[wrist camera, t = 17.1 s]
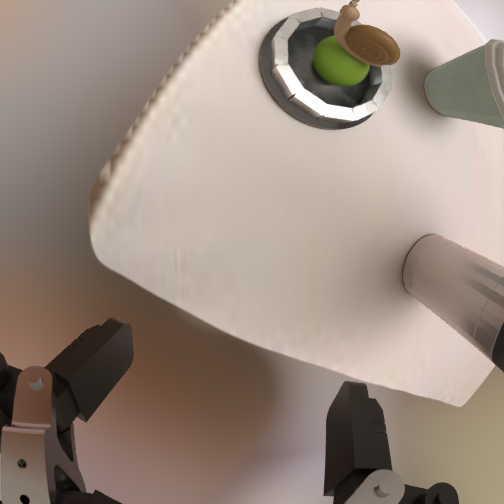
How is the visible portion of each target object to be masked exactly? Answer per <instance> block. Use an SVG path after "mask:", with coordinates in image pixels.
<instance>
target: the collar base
mask: <svg viewBox="0 0 504 504" xmlns="http://www.w3.org/2000/svg"><path fill="white" fill-rule="evenodd" d="M339 15H340V12H337V11H333V10H328V9H324V8H314V9H310V10H306V11H302V12H298V13H294V14H292V15H291V16H290V17H287V18H285V19H284V20H282V21H280V22H279V23H277V24H276V25H275V26H274V27H273V28H272V29H271V30H270V32H269V33H268V35H267V36H266V38H265V40H264V42H263V45H262V48H261V52H260V70H261V74H262V78H263V80H264V83H265V85H266V87H267V89H268V91H269V93H270V94H271V96H272V97H273V98H274V100H275V101H276V102H277V103H278V104H279V105H280V106H281V107H282V108H283V109H284V110H285V111H286V112H287V113H289V114H290V115H291V116H293V117H294V118H296V119H298V120H299V121H301V122H303V123H306V124H308V125H310V126H314V127H317V128H322V129H330V130H337V129H345V128H350V127H353V126H356V125H359V124H361V123H362V122H364V121H366V120H367V119H368V118H369V117H370V116H371V115H372V114H373V113H374V112H376V111H378V110H379V109H380V108H381V107H382V105H383V103H384V101H385V99H386V97H387V95H388V93H389V91H390V90H391V72H390V65H383V66H382V67H378V66H372V65H370V66H369V71H368V73H367V75H366V77H365V78H364V79H363V80H362V81H361V82H359V83H358V84H356V85H353V86H348V87H342V86H336V85H333V84H331V83H329V82H327V81H326V80H324V79H323V78H322V77H321V76H320V75H319V74H318V72H317V71H316V69H315V66H314V62H313V54H314V50H315V48H316V46H317V45H318V44H319V43H320V42H321V41H322V40H323V39H325V38H327V37H330V36H334V26H335V23H336V21H337V18H338V16H339ZM355 25H362V24H361V23H360V22H358V21H357V20H356V21H353V22H352V24H351V26H350V27H352V26H355Z"/></svg>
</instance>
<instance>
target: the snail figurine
mask: <svg viewBox="0 0 504 504" xmlns="http://www.w3.org/2000/svg"><path fill="white" fill-rule="evenodd" d="M359 1H360V0H352V1H351V2H350V3H349V5H345V6H343V7H342V9H341V10H340V15H339V16H338V18H337V21H336V23H335V26H334V36H330V37H327V38H325V39H323V40H322V41H321V42H320V43H319V44H318V45H317V46H316V48H315V50H314V54H313V62H314V66H315V69H316V71H317V72H318V74H319V75H320V76H321V77H322V78H323V79H324V80H326V81H327V82H329V83H331V84H333V85H336V86H342V87H348V86H353V85H356V84H358V83H359V82H361V81H362V80H363V79H364V78H365V77H366V75H367V73H368V71H369V66H370V65H372V66H378V67H382V66H383V65H392V64H394V63H396V62H397V61H398V59H399V57H400V50H399V47H398V45H397V43H396V42H395V40H394V39H393V38H392V37H391V36H390V35H388V34H387V33H386V32H384V31H382V30H380V29H378V28H376V27H373V26H370V25H355V26H352V27H350V26H351V24H352V22H353V21H356V20H357V19H358V18H359V16H360V14H359V11H358V10H357V9H356V8H355V7H356V6H357V3H356V2H359Z"/></svg>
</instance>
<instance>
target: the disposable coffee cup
mask: <svg viewBox="0 0 504 504" xmlns="http://www.w3.org/2000/svg"><path fill="white" fill-rule="evenodd" d="M424 89H425V94H426V98H427V100H428V101H429V103H430V105H431V107H432V108H433V109H434V110H436V111H437V112H438V113H439V114H442V115H443V116H446V117H452V118H458V119H463V120H469V121H474V122H478V123H483V124H487V125H491V126H496V127H500V128H503V129H504V41H502V40H493V39H491V40H490V41H489V42H488V43H486V44H485V45H483V46H481V47H479V48H477V49H474V50H472V51H470V52H468V53H466V54H464V55H461V56H459V57H457V58H455V59H453V60H451V61H449V62H447V63H445V64H443V65H441V66H439V67H437V68H435V69H433V70H432V71H431V72H429V73H428V74H427V76H426V77H425V82H424Z"/></svg>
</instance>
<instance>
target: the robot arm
mask: <svg viewBox="0 0 504 504" xmlns="http://www.w3.org/2000/svg"><path fill="white" fill-rule="evenodd" d="M403 283H404V287H405V289H406V291H407V292H408V293H409V294H411V295H412V296H413V297H415V298H416V299H417V300H418V301H420V302H421V303H422V304H424V305H425V306H426V307H427V308H428V309H430V310H431V311H432V312H433V313H435V314H436V315H437V316H438V317H440V318H441V319H442V320H443V321H445V322H446V323H447V324H448V325H450V326H451V327H452V328H453V329H454V330H456V331H457V332H458V333H459V334H461V335H462V336H463V337H464V338H465V339H466V340H468V341H469V342H470V343H471V344H472V345H474V346H475V347H476V348H477V349H478V350H479V351H481V352H482V353H483V354H484V355H485V356H486V357H487V358H489V359H490V360H491V361H492V362H493V363H494V364H495V365H496V366H497V367H499V368H500V369H501V370H502V371H503V372H504V267H503V266H501V265H499V264H497V263H495V262H493V261H491V260H489V259H487V258H485V257H483V256H481V255H479V254H477V253H475V252H473V251H471V250H469V249H467V248H465V247H462V246H460V245H458V244H456V243H454V242H452V241H450V240H447V239H445V238H443V237H440V236H438V235H434V234H431V235H427V236H425V237H423V238H422V239H420V240H419V241H418V242H417V243H416V244H415V245H414V247H413V248H412V249H411V251H410V253H409V254H408V256H407V259H406V261H405V265H404V269H403ZM133 357H134V351H133V342H132V331H131V326H130V324H129V323H126V322H124V321H121V320H119V319H116V318H114V317H111V318H109V319H108V320H107V321H106V322H105V323H104V324H103V325H101V326H100V325H96V326H94V327H91V328H89V329H87V330H85V331H84V332H83V333H82V334H81V335H80V336H79V337H78V339H75V340H74V341H73V342H72V343H71V345H69V346H68V347H66V348H65V349H64V350H63V351H62V352H61V353H60V354H59V355H58V356H57V357H56V358H54V359H53V360H52V361H51V362H50V363H49V364H48V365H47V366H46V367H41V366H30V367H28V368H26V369H24V370H21V369H17V368H15V367H12V366H9V365H8V364H7V362H6V360H5V358H4V356H3V355H2V354H1V353H0V453H1V459H0V463H1V464H0V465H1V466H0V467H1V469H0V471H1V493H2V501H0V504H122V503H120V502H118V501H116V500H114V499H112V498H110V497H108V496H106V495H104V494H103V493H101V492H99V491H97V490H95V491H94V493H93V494H91V493H87V492H86V487H85V483H84V480H83V477H82V475H81V472H80V470H79V467H78V461H77V455H76V446H75V435H74V425H73V421H74V420H75V418H76V417H78V418H80V419H81V420H83V421H85V422H87V421H88V420H89V418H90V417H91V416H92V414H93V413H94V412H95V411H96V409H97V408H98V407H99V405H100V404H101V403H102V402H103V400H104V399H105V397H106V396H107V395H108V394H109V392H110V391H111V390H112V389H113V388H114V386H115V385H116V383H117V382H118V381H119V380H120V379H121V377H122V376H123V375H124V374H125V372H126V371H127V370H128V368H129V367H130V366H131V364H132V361H133ZM384 422H385V420H384V415H383V410H382V408H381V407H380V405H379V403H378V402H377V400H376V399H372V398H369V397H368V390H367V386H366V384H365V383H357V382H349V381H345V382H344V383H343V385H342V387H341V388H340V390H339V392H338V394H337V395H336V397H335V399H334V401H333V403H332V404H331V406H330V408H329V411H328V414H327V419H326V458H325V479H324V496H334V501H333V504H459V500H458V494H457V492H456V490H455V488H454V487H453V486H451V485H450V484H448V483H443V482H442V483H437V484H435V485H433V486H432V487H430V488H429V489H423V488H419V487H414V486H409V485H406V484H404V482H403V480H402V478H401V477H400V476H399V475H398V474H397V473H395V472H393V470H392V465H391V458H390V451H389V444H388V438H387V433H386V426H385V424H384Z"/></svg>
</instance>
